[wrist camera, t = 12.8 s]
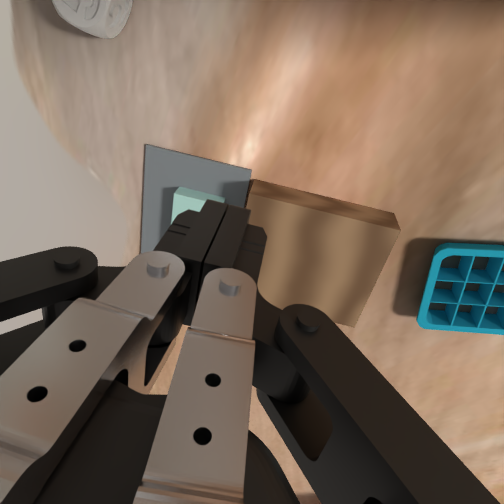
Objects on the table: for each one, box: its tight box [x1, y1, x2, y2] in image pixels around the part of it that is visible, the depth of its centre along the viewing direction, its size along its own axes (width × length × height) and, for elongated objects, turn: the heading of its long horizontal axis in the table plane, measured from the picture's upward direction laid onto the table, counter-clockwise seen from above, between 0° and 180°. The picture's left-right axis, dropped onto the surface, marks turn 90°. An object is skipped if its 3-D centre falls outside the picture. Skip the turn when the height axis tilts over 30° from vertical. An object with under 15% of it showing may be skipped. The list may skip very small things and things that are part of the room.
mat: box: [141, 144, 252, 253], centre depth 46 cm, size 12×16×1 cm
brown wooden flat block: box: [246, 179, 401, 327], centre depth 45 cm, size 16×14×4 cm
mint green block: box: [171, 187, 225, 225], centre depth 45 cm, size 6×8×2 cm
